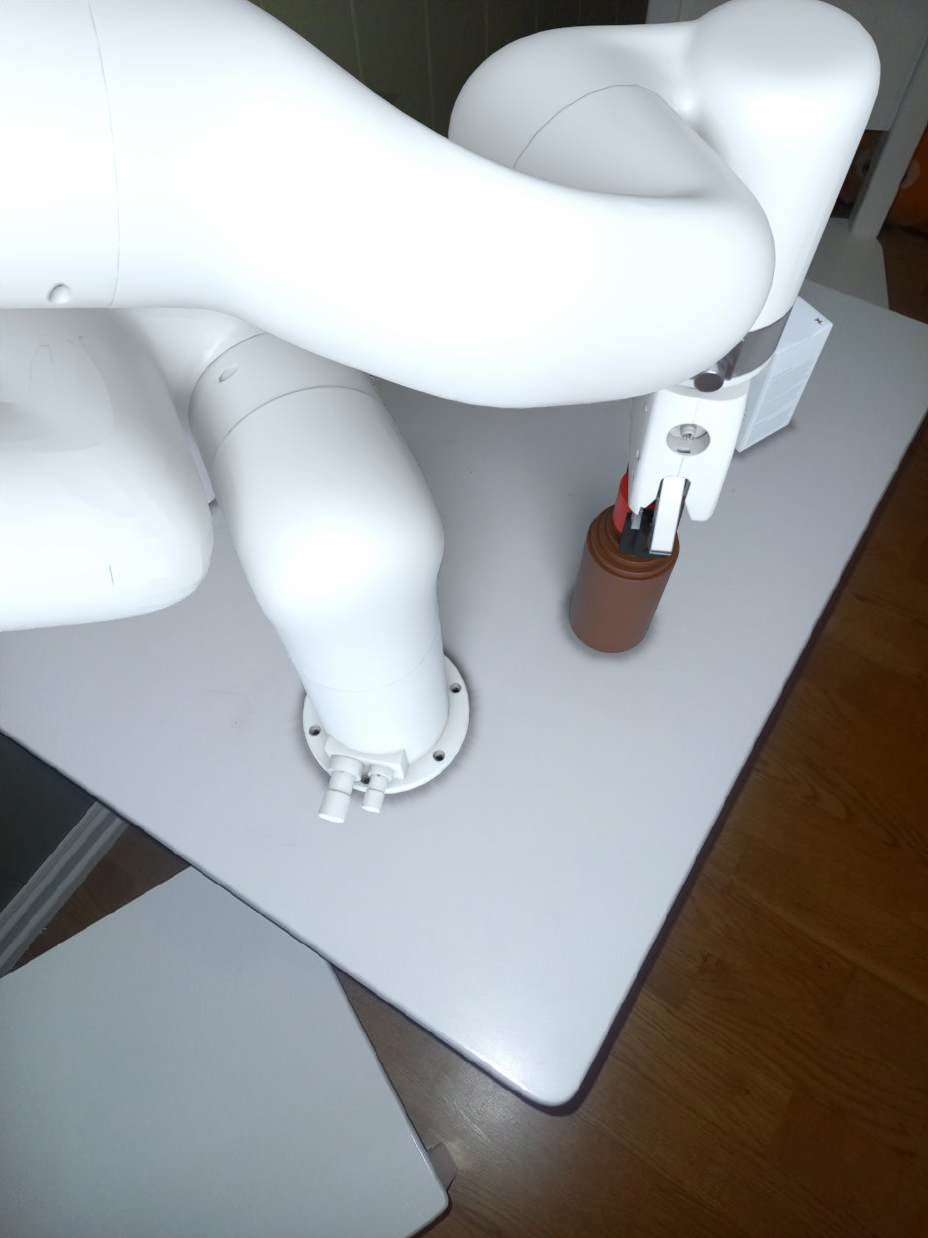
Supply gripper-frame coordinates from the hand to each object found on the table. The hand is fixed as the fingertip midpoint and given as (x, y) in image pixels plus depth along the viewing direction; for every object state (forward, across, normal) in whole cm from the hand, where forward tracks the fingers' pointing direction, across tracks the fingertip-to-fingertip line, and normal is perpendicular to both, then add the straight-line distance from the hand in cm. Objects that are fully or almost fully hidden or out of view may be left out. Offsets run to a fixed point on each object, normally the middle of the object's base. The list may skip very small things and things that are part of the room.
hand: (644, 523), depth 57 cm
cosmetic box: (+13, +21, -11) cm, 27 cm away
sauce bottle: (+13, 0, +1) cm, 13 cm away
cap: (-1, 0, 0) cm, 1 cm away
